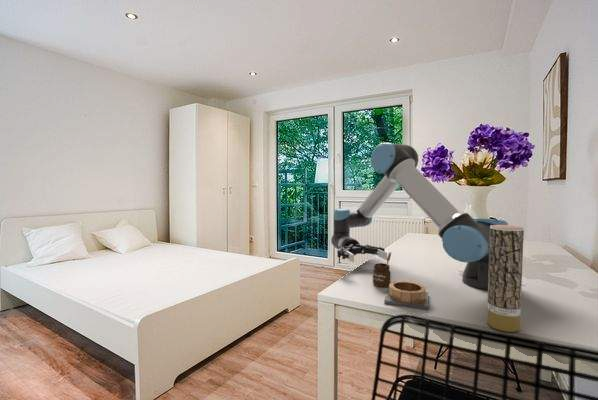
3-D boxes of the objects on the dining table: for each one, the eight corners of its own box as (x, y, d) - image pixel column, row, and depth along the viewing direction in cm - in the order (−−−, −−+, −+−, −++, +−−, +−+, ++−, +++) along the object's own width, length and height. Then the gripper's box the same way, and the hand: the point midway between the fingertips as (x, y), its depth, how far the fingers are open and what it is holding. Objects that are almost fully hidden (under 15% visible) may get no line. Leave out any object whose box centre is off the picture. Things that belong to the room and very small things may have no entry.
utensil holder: (378, 280, 112) (379, 248, 111) (394, 285, 108) (394, 251, 107) (369, 284, 108) (369, 250, 107) (385, 289, 103) (385, 253, 103)
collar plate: (428, 295, 97) (428, 283, 97) (428, 310, 86) (428, 296, 86) (389, 290, 102) (389, 278, 102) (384, 303, 91) (384, 290, 91)
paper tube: (525, 335, 72) (529, 229, 71) (493, 332, 73) (497, 228, 72) (511, 322, 79) (515, 225, 77) (482, 319, 80) (485, 224, 79)
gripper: (374, 252, 140) (399, 265, 119) (322, 255, 135) (338, 269, 114) (374, 236, 140) (399, 245, 119) (322, 238, 134) (338, 249, 114)
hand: (369, 257), depth 117 cm, fingers open, 13 cm apart
